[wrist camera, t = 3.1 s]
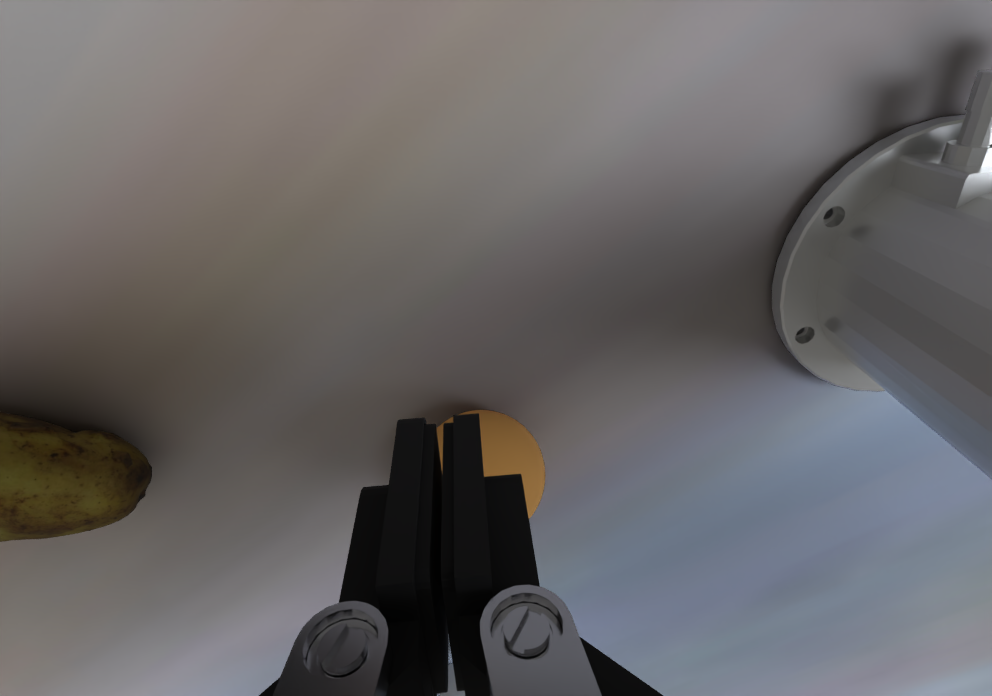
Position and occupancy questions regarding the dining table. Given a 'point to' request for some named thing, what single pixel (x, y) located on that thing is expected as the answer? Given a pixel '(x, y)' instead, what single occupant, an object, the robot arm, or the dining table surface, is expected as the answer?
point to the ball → (508, 453)
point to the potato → (64, 479)
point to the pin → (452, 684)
